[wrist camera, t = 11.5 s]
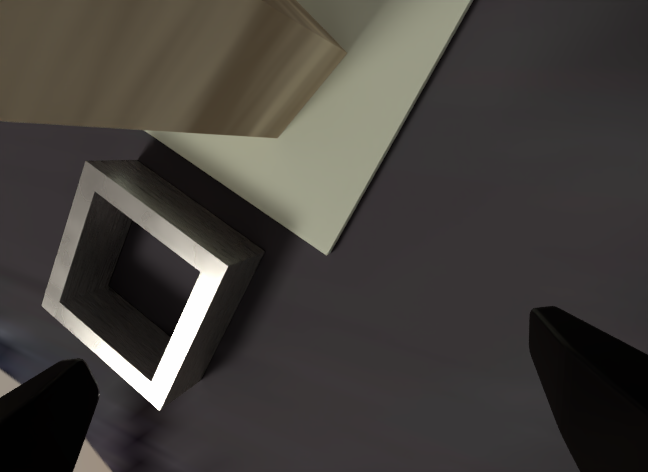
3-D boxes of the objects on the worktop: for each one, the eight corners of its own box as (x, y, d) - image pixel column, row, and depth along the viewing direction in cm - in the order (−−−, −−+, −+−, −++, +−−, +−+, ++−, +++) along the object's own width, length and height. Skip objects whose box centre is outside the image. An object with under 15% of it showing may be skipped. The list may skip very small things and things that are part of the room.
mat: (489, -28, 15) (488, -32, 15) (329, 253, 20) (326, 255, 19) (227, -146, 18) (221, -152, 18) (136, 121, 22) (130, 121, 22)
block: (347, 53, 17) (-3, -160, 6) (277, 138, 19) (-102, 115, 7) (273, -24, 18) (-184, -361, 6) (212, 66, 20) (-235, -63, 8)
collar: (265, 251, 21) (228, 266, 18) (200, 380, 24) (159, 410, 21) (136, 159, 23) (85, 160, 20) (91, 289, 26) (41, 305, 23)
